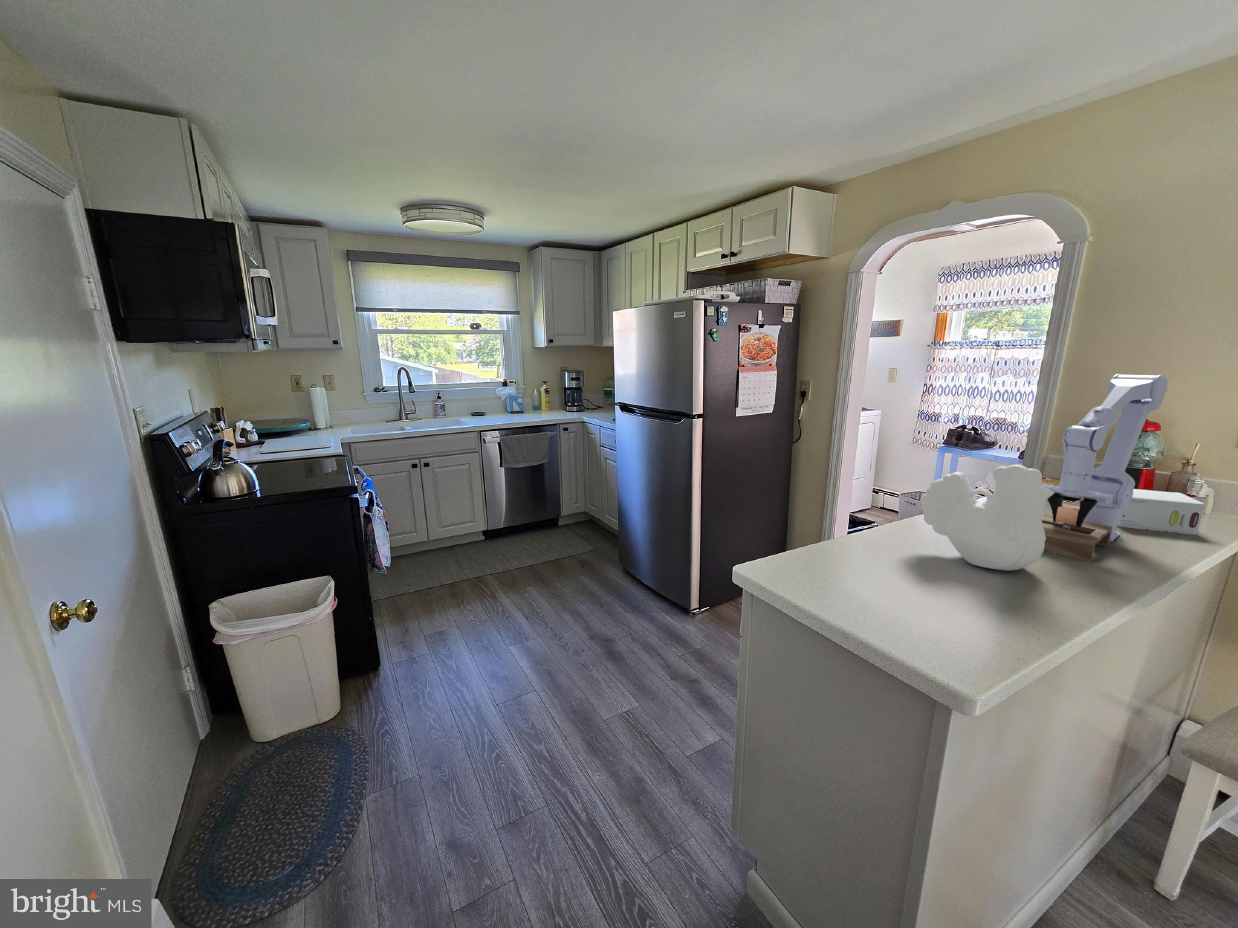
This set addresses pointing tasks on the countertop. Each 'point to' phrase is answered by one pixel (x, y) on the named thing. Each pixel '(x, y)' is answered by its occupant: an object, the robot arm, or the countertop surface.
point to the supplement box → (1161, 512)
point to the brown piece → (1067, 515)
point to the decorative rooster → (991, 517)
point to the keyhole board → (1074, 538)
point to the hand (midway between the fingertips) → (1067, 523)
